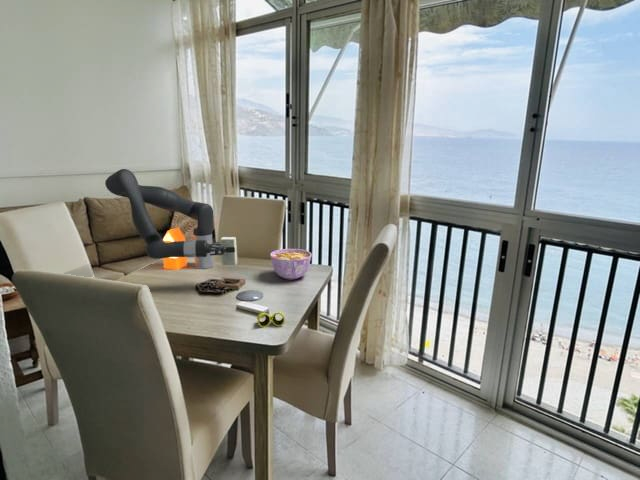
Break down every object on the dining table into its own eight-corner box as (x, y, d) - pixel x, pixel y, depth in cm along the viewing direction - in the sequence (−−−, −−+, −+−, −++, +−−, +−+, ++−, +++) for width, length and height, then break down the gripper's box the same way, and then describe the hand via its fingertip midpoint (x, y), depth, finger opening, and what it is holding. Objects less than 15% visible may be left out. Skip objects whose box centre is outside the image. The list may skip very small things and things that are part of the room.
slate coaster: (242, 290, 174) (242, 289, 174) (266, 292, 172) (266, 291, 172) (232, 300, 163) (232, 298, 163) (258, 302, 162) (258, 300, 162)
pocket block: (222, 281, 185) (222, 277, 184) (245, 283, 183) (245, 279, 182) (214, 288, 176) (214, 283, 176) (238, 290, 174) (237, 285, 174)
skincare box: (237, 262, 179) (236, 236, 176) (235, 265, 175) (234, 239, 172) (223, 262, 179) (222, 236, 176) (221, 265, 175) (220, 238, 172)
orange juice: (163, 268, 202) (160, 230, 197) (174, 263, 210) (172, 226, 205) (176, 269, 199) (174, 231, 195) (187, 264, 208) (184, 227, 203)
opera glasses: (283, 322, 146) (283, 309, 146) (285, 326, 141) (284, 312, 141) (257, 324, 144) (256, 311, 144) (257, 328, 139) (257, 314, 139)
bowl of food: (306, 285, 181) (306, 261, 179) (264, 281, 185) (264, 258, 182) (315, 272, 200) (315, 250, 198) (277, 269, 204) (277, 247, 201)
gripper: (192, 244, 165) (234, 244, 168) (197, 236, 179) (236, 236, 182) (193, 261, 167) (234, 261, 170) (198, 252, 181) (236, 251, 183)
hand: (235, 248), depth 176 cm, fingers closed on skincare box, 5 cm apart
